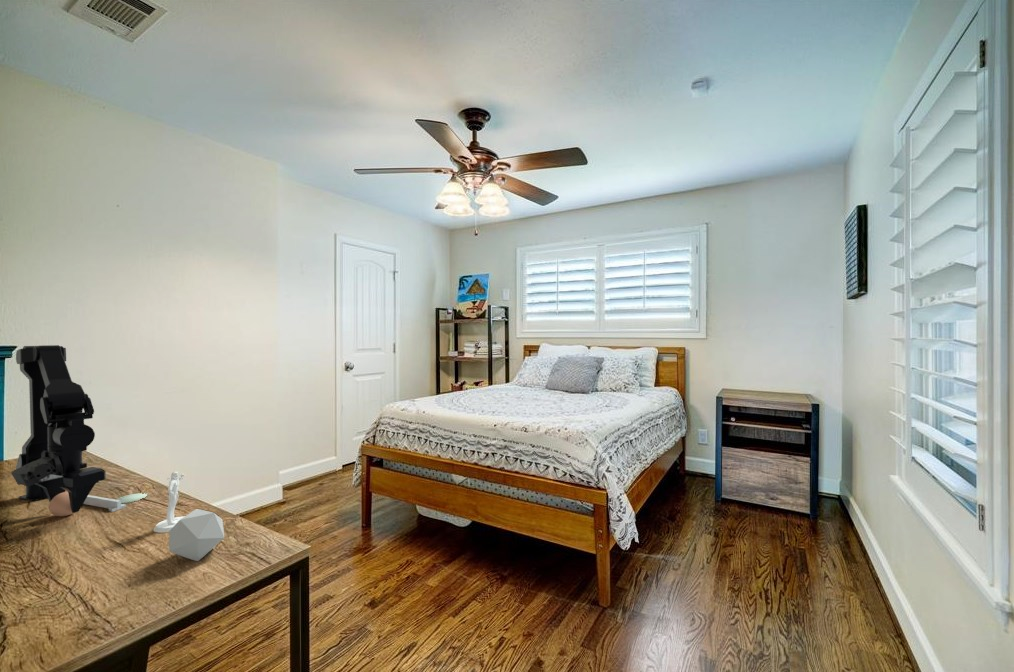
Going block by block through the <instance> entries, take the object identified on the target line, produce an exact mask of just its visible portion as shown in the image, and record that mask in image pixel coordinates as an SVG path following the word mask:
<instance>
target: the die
mask: <svg viewBox="0 0 1014 672" xmlns="http://www.w3.org/2000/svg"><path fill="white" fill-rule="evenodd" d="M224 530H225V529H224V522H223V519H222V518H221V517H220V516H218V514H216V513H215V512H212V511H209V510H203V509H200V508H196V509H194V510H192V511H190V512H189V513H188V514H186V515H185V517H183V518H182V519H180V520H179V521H178V522H177V523H176V524H175V526H174V527H173V528H172V529H171V530H170V531H169V532H168V533H169V535H168V552H170V553H173V554H175V555H177V556H179V557H183V558H185V559H188V560H191V561H195V562H199V561H200V560H201V559H203V557H205V556H206V555H207V554H208V553H209V552H211V551H212V550H213V549H214V548H216V546H217V545H218V544H219V543H220V542H221V541H223V540H224V539H225V531H224Z"/></svg>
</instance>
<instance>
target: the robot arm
mask: <svg viewBox="0 0 1014 672" xmlns="http://www.w3.org/2000/svg"><path fill="white" fill-rule="evenodd" d="M66 362H67V348H66V347H63V346H62V345H58V344H57V345H55V344H54V345H53V344H50V345H49V344H48V345H23V347H22V348H20V349H17V350H16V353H15V363H16V364H17V365H19V371H20V372H21V373H22V374H23V375H24V376H25V377H26V379H28V382H29V383H28V386H29V387H28V388H29V389H28V390H29V421H30V422H29V423H30V426H29V427H30V428H29V429H30V436H29V437H28V439H27V440H26V441H25V442H24V444H23V445H22V447H21V453H20V454H19V455H18V457H17V462H16V467H15V469H14V470H12V471H11V472H10V474H11V475H12V477H13V479H14V481H15V482H16V484H17V485H18V486H20V485H22V486H24V487H25V494H24V495H20V496H18V499H19V500H24V501H31V502H36V501H38V500H43V499H47V500H48V502H49V503H50V502H51V500H52V499H53V498H54V497H55V496H56V495H58V494H60V493H63V492H68V494H69V500H70V506H71V510H72V513H73V514H74V513H78V512H79V511H80V510H81V509H82V506H83V505H84V504H83V503H84V501H85V499H86V498H87V496H88V495H90V492H91V491H92V490H93V488H94V487H95V485H96V484H97V483H99V482H101V481H105V480H106V479H107V477H106V476H107V473H106V470H104V469H103V468H102V467H95V466H94V467H93V466H90V467H88V463H86V462H83V452H85V451H87V450H88V446H89V445H91V444H92V443H93V441H94V440H95V437H96V435H95V433H96V432H95V431H94V429H93V427H91V426H89V425H87V424H85V420H89V419H93V418H94V417H93V415H94V413H95V408H94V405H93V403H92V400H91V398H90V397H89V395H88V394H87V393H86V392H85V391H84V389H83V387H82V385H81V384H78V383H76V382H74V381H73V380H72V378H71V375H70V372H69V369H68V366H67V364H66Z"/></svg>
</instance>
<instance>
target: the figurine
mask: <svg viewBox="0 0 1014 672" xmlns="http://www.w3.org/2000/svg"><path fill="white" fill-rule="evenodd" d="M170 475H171V476H170V477H169V478H167V480H170V481H169V484H168V489H167V492H168V496H167V497H168V498H167V499H168V505H167V509H166V519H164V520H162V521H160V522H158V523H157V524H156V525H155V526H154V528H153V532H155V533H160V534H161V533H169V531H170V530H171V529H172V528H173V527H174V526H175V524H176V523H177V522H178V521H179V520H180V519H182V518H183V517H185V516H186V515H185V516H182V515H181V516H176V517H175V508H176V506H177V503H178V500H179V498H180V495H179V487H180V481H181V480H183V477H186V474H185V473H181V474H180V475H179V471H174V472H172V473H171V474H170Z"/></svg>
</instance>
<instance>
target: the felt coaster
mask: <svg viewBox="0 0 1014 672" xmlns="http://www.w3.org/2000/svg"><path fill="white" fill-rule="evenodd" d="M142 493H144V492H139V493H131V494H127V495H124V496H121V497H118V498H115V500H120V501H121V505H122V504H130V503H135V502H134V501H136V502H139V501H141V500H140V499H142V498H145V497H146V496H147V494H148V493H146V494H145V493H144V494H142ZM146 498H147V497H146ZM146 498H145V499H146ZM138 500H139V501H138ZM142 500H143V499H142Z"/></svg>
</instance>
